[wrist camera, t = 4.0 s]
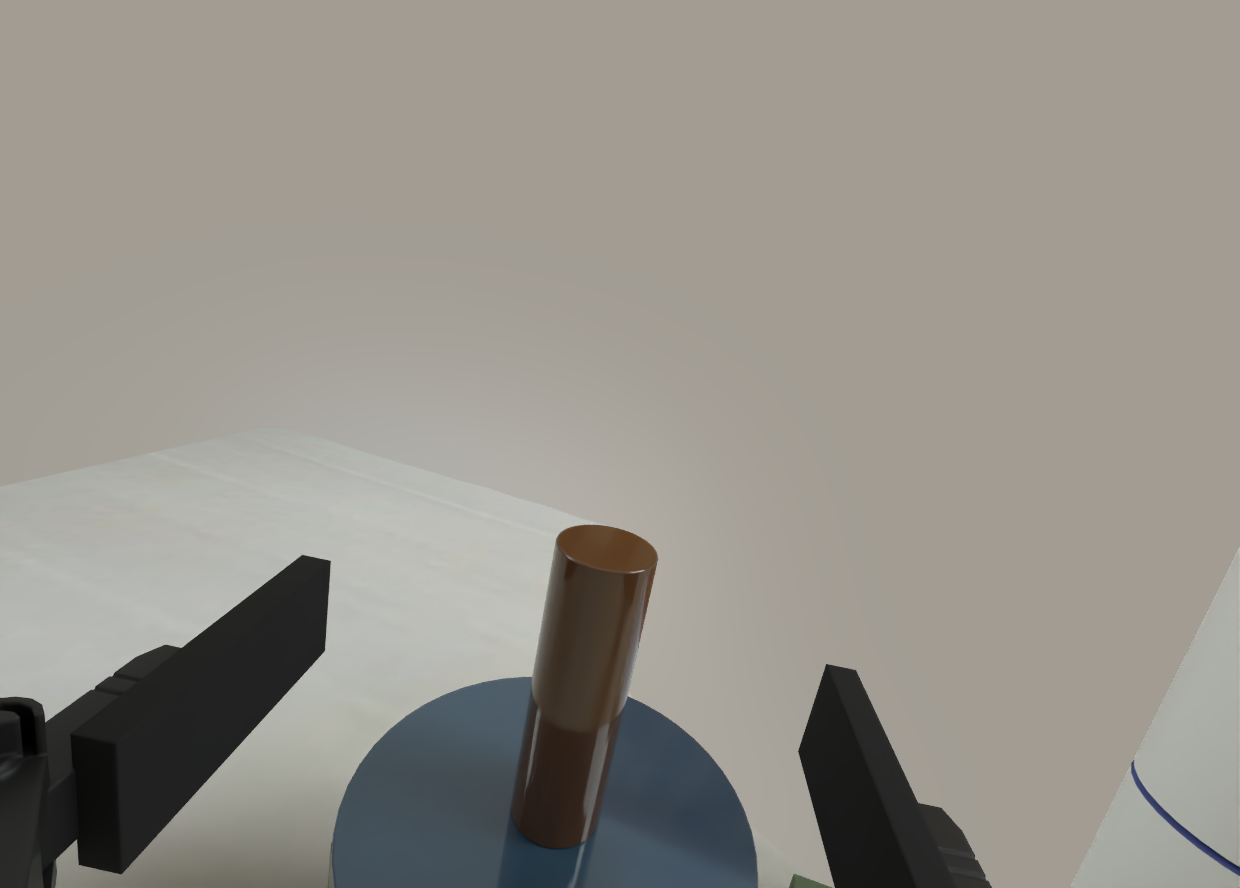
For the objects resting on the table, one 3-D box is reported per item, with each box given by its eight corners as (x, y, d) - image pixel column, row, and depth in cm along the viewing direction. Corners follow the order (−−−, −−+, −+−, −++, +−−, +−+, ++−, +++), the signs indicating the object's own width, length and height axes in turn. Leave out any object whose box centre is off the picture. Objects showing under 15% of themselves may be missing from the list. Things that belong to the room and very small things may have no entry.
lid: (211, 969, 15) (215, 587, 12) (458, 666, 27) (488, 439, 24) (741, 1199, 13) (892, 801, 10) (752, 760, 25) (823, 523, 22)
